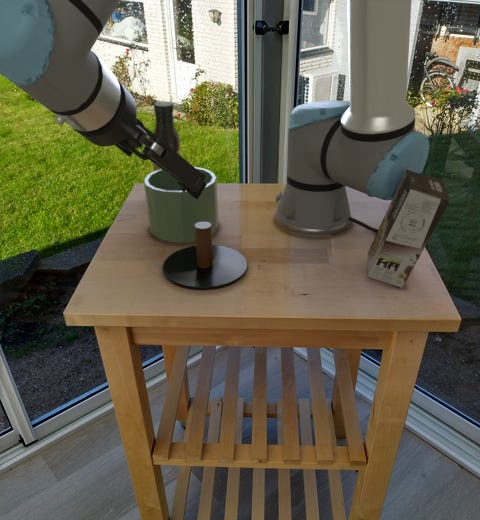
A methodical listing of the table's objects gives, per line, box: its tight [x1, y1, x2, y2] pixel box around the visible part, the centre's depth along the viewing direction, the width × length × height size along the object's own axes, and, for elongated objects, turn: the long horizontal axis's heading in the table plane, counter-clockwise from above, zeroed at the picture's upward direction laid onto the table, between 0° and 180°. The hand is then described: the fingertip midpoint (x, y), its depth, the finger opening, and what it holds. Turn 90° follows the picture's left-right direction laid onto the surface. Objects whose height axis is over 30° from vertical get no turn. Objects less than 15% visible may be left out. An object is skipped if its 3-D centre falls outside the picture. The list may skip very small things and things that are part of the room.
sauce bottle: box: [152, 100, 182, 172], centre depth 110 cm, size 7×6×20 cm
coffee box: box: [367, 170, 452, 288], centre depth 81 cm, size 9×6×16 cm
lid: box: [162, 222, 248, 291], centre depth 85 cm, size 15×15×9 cm
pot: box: [143, 166, 219, 243], centre depth 98 cm, size 14×14×10 cm
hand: (165, 169), depth 76 cm, fingers open, 13 cm apart
